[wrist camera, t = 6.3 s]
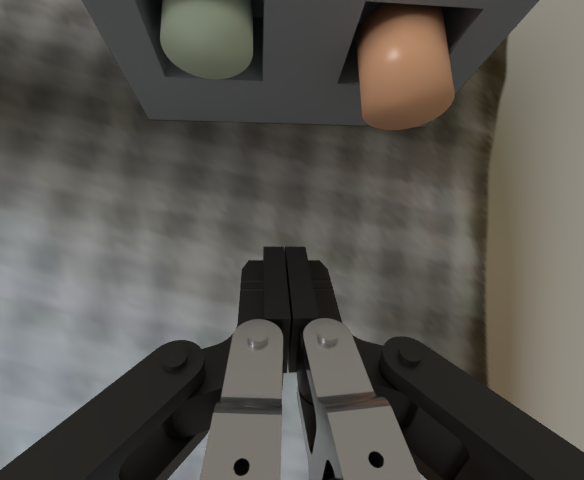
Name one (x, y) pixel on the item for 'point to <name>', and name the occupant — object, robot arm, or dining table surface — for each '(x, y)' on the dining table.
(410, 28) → the terracotta button
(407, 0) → the block
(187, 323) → the dining table surface
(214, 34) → the sage button
